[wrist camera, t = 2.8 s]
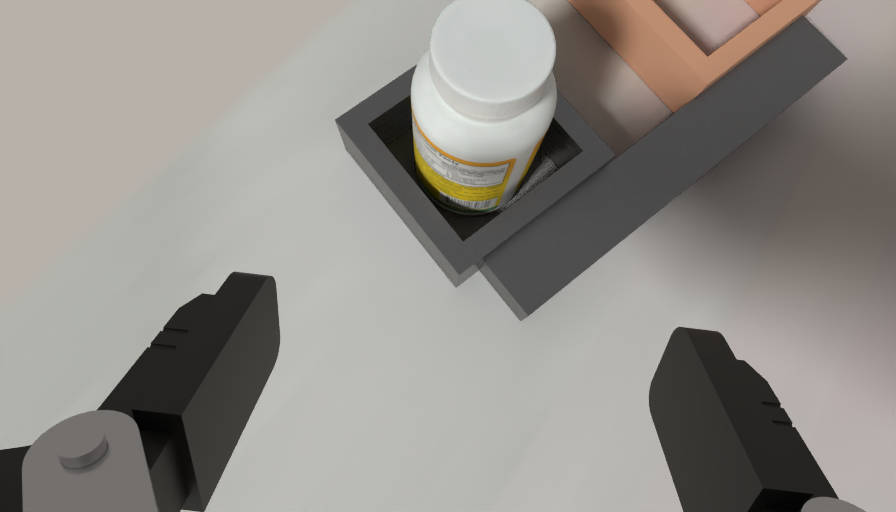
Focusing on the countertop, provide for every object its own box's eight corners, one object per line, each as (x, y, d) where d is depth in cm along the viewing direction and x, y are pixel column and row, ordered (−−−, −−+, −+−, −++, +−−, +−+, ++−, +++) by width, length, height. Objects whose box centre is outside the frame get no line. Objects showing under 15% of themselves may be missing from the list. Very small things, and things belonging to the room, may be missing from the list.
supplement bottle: (456, 239, 25) (471, 156, 16) (393, 151, 26) (371, 22, 17) (547, 178, 26) (612, 65, 17) (483, 95, 27) (511, -57, 18)
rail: (664, -71, 29) (690, -121, 27) (818, 81, 28) (864, 46, 25) (345, 148, 26) (335, 119, 23) (497, 339, 24) (506, 334, 21)
